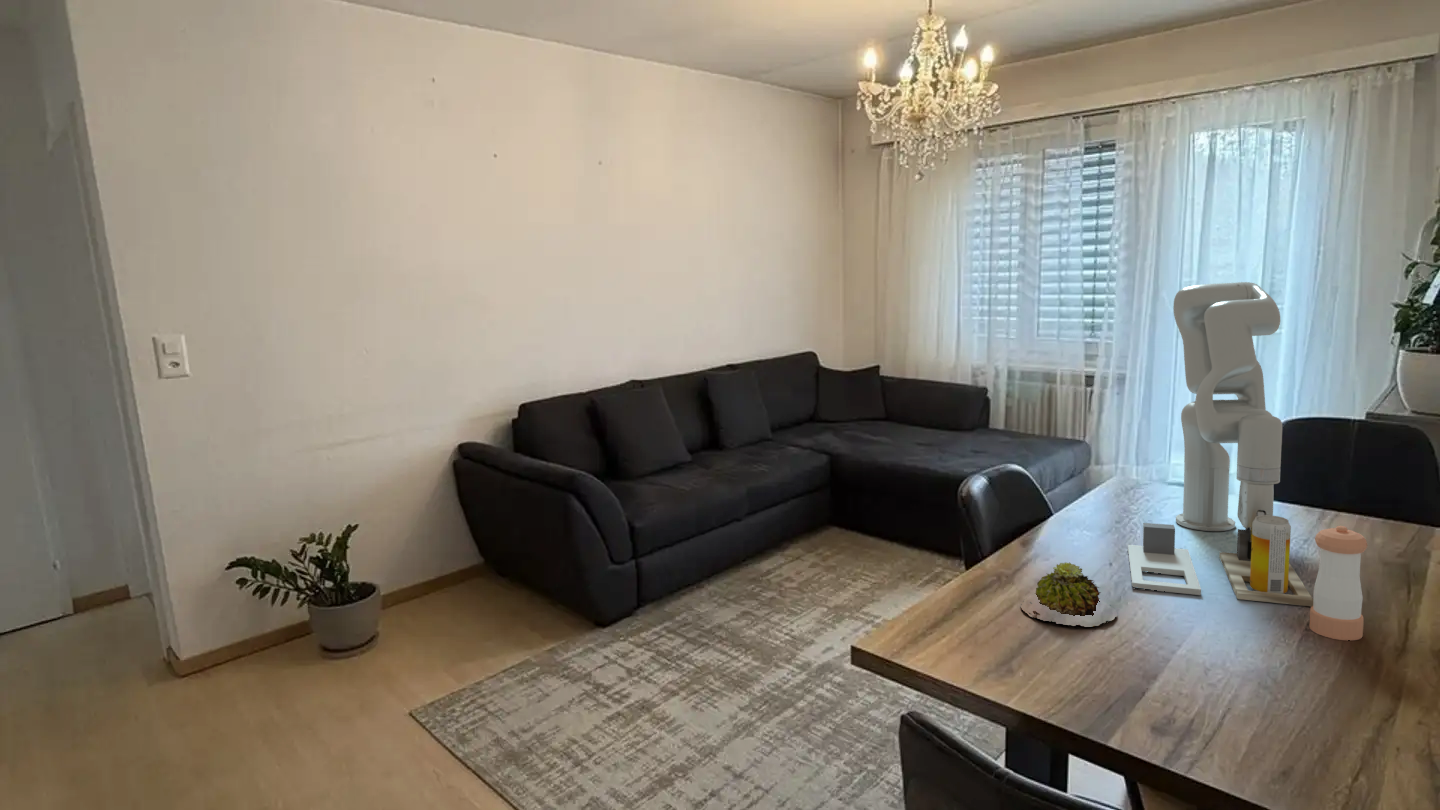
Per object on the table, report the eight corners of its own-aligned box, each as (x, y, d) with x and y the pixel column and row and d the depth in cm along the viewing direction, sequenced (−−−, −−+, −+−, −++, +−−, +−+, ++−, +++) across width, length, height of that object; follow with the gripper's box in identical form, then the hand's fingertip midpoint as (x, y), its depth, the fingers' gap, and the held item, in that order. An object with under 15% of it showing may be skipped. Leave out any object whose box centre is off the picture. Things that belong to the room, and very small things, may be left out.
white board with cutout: (1127, 549, 176) (1128, 519, 175) (1187, 554, 171) (1188, 523, 170) (1132, 588, 155) (1132, 554, 154) (1201, 595, 150) (1202, 560, 149)
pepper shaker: (1349, 644, 128) (1356, 536, 125) (1300, 629, 134) (1306, 525, 131) (1371, 633, 131) (1378, 527, 128) (1322, 618, 137) (1328, 517, 135)
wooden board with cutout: (1219, 557, 168) (1220, 526, 167) (1285, 562, 163) (1286, 530, 162) (1237, 598, 147) (1238, 563, 146) (1313, 606, 142) (1315, 570, 141)
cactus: (1021, 626, 143) (1021, 577, 141) (1019, 593, 158) (1019, 548, 156) (1123, 635, 137) (1124, 584, 135) (1111, 599, 152) (1112, 553, 150)
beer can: (1275, 585, 152) (1278, 513, 150) (1294, 597, 146) (1298, 523, 144) (1243, 586, 153) (1246, 515, 151) (1261, 598, 147) (1264, 524, 145)
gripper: (1230, 463, 169) (1227, 542, 172) (1243, 482, 154) (1240, 568, 157) (1271, 465, 166) (1268, 545, 168) (1288, 484, 151) (1284, 571, 154)
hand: (1254, 555), depth 163 cm, fingers closed on wooden board with cutout, 3 cm apart
